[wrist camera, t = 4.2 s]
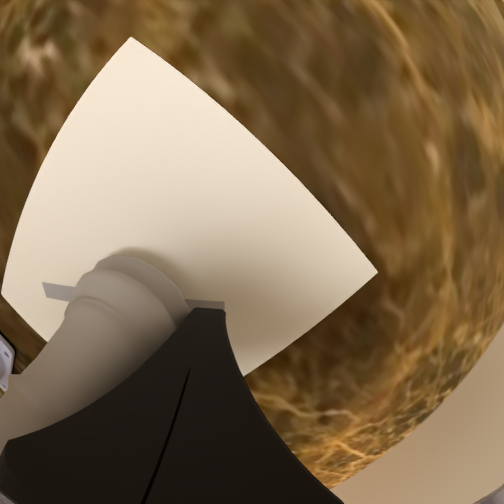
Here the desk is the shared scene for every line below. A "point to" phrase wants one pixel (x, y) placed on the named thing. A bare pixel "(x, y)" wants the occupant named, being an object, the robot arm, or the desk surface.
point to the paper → (179, 212)
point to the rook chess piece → (94, 344)
